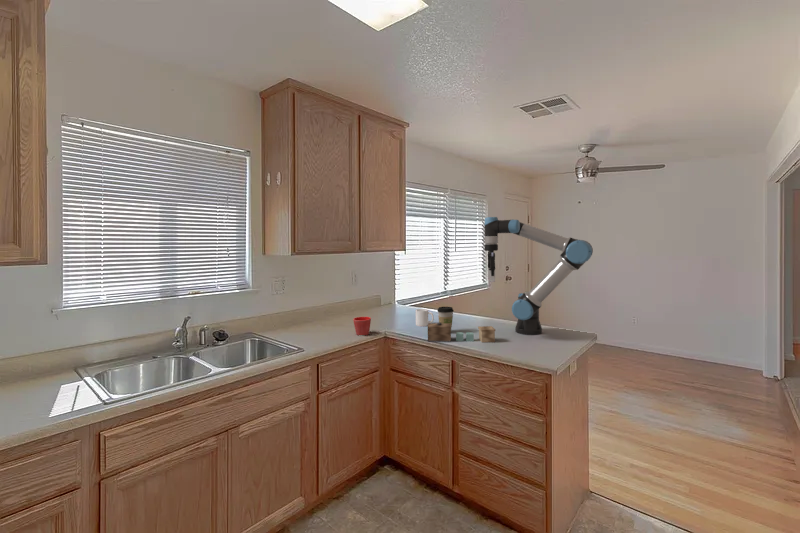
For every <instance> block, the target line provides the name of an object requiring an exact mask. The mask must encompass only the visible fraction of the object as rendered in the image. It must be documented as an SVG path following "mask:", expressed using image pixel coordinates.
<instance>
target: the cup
mask: <svg viewBox="0 0 800 533" xmlns="http://www.w3.org/2000/svg"><path fill="white" fill-rule="evenodd" d="M429 315H431V320H429ZM434 320H435V319H434V313H433V312H431V311H429V309H428V308H418V309H417V308H416V309H415V326H417V327H420V328H421V327H423V328H424V327H428V324H429V323H434Z"/></svg>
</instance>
